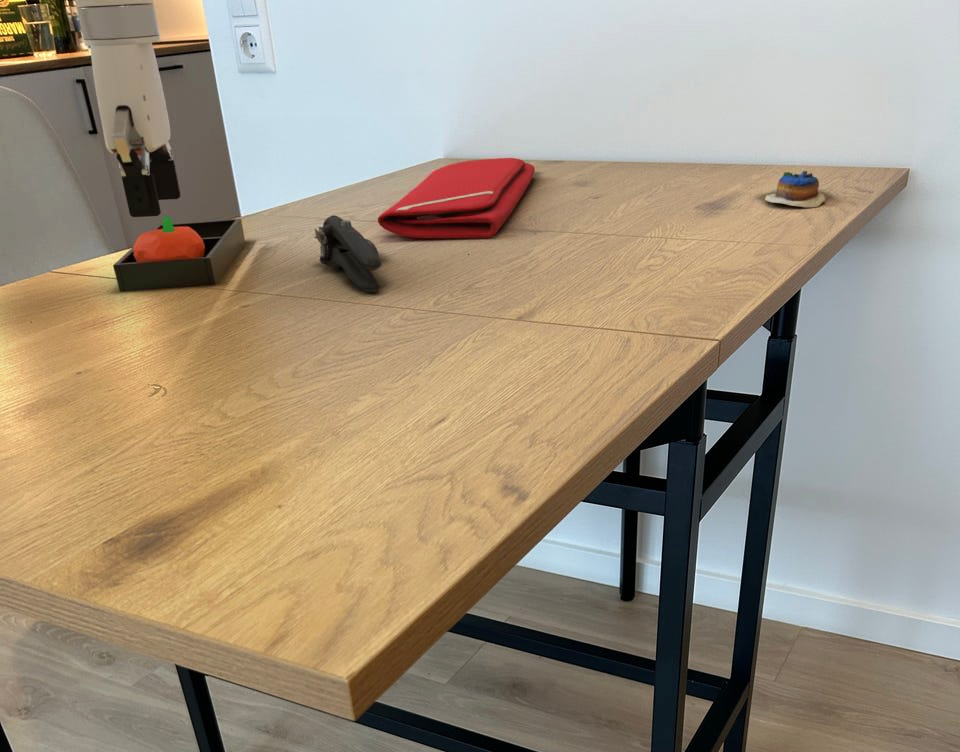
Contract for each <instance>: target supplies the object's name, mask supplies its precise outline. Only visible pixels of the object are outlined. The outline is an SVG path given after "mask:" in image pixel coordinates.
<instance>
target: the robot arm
mask: <svg viewBox="0 0 960 752" xmlns="http://www.w3.org/2000/svg"><path fill="white" fill-rule="evenodd" d="M74 3H75V7H76V11H77V16H78V22H79V25H80V31H81V35H82V38H83V42H84V46H85V47H90V58H91V68H92V75H93V82H94V89H95V95H96V100H97V106H98V111H99V117H100V123H101V127H102V132H103V137H104V143H105V147H106V150H107V151H108V152H109V153H111V155H116V160H117V161H118V163H119V167H118V168H119V173H120V176H121V180H122V185H123V189H124V195H125V199H126V204H127V208H128V213H129V216H130V217H132V218H143V217H144V218H147V217H148V218H149V217H158V216H160V215H161V213H162V210H161V206H160V201H167V200H178V199H180V198H181V190H180V185H179V180H178V175H177V170H176V164H175V160H174V154H173V149H172V147H171V145H170V143H169V141H170V140H171V135H172V134H171V125H170V118H169V113H168V107H167V102H166V98H165V93H164V88H163V83H162V79H161V74H160V71H159V66H158V61H157V58H156V53H155V50H154V45H153V43H159V42H162V41H161V36H160V30H159V25H158V20H157V15H156V14H157V13H156V8H155V4H154V0H74ZM139 156H140V158H139Z"/></svg>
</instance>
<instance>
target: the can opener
mask: <svg viewBox="0 0 960 752" xmlns="http://www.w3.org/2000/svg"><path fill="white" fill-rule="evenodd" d="M313 238H314V239H317V241H318V242H319V244H320V246H319V250H320V256H319V262H320V263H321V264H322V265H324V266H328V267H331V268H335V269H343V271H344V273H346V274H347V276H348V278H349V279H350V280H351V281H352V282H353V283H354V284H355V285H356V286H357V287H358V288H359V289H361V290H362V291H364V292H366V293H370V294H371V293H376V292H378V291H379V290H381V285H380V283H379V281H378V280H377V278H376V277H375V275H374V274H373V273H372V272H371V271H376V270H378V269H380V268H381V266H382V261H381V259H380V257H379V256H380V255H379V252H378V249H377V247H376V245H375V243H374V242H373V241H371V240H370V239H368V238H365V237H364V236H363V234H361V233H360V232H359V231H358V230H357V229H356V228H354V227H353V226H352V222H351V220H349V219H343V218H342V217H340V216H338V215H335V214H333V215H330V216H328V217H327V218H326V219H325V220H324V221H323V225H322V226H318V229H317V228H314V237H313Z"/></svg>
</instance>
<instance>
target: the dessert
mask: <svg viewBox="0 0 960 752" xmlns="http://www.w3.org/2000/svg"><path fill="white" fill-rule="evenodd" d="M813 175H814V174H813V172H810V173H808V171H807V170H803V171H802V172H801V173H800V174H797V173H794V174H793V172H790V171H785V172H783V174H782V176H781V177H780V178H779V180H778V183H777V185H776V193H771V194H767V195H766V196H765V198H764V200H765V201H766V202H769V203H775V204H784V205H787V206H791V207H792V206H793V207H801V208H817V207H819V206H821V204H822V203H823V202H825V201H826V197H825V194H823V193H820V192H819V187H820V181H819V178H817V177H816V176H813Z"/></svg>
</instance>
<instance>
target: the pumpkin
mask: <svg viewBox="0 0 960 752" xmlns="http://www.w3.org/2000/svg"><path fill="white" fill-rule="evenodd" d="M173 224H174V223H173V222H172V220H171V217H170V216H169V215H167V216H162V225H163V229H157V230H152V229H151V230H152V231H151V230H149V231H146V232H143V233H141V234H140V235H139V236H138V237H137V239H136V240H135V242H134V245H133V247H132V248H134V257H135V259H136V261H137V262H147V261H160V260H173V259H187V258H200V257H204V252H205V246H204V243H203V239H202V238H201V237H200V236H199V235H198V234H197V232H196V231H194V230H193V229H191V228H190V227H173Z"/></svg>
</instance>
